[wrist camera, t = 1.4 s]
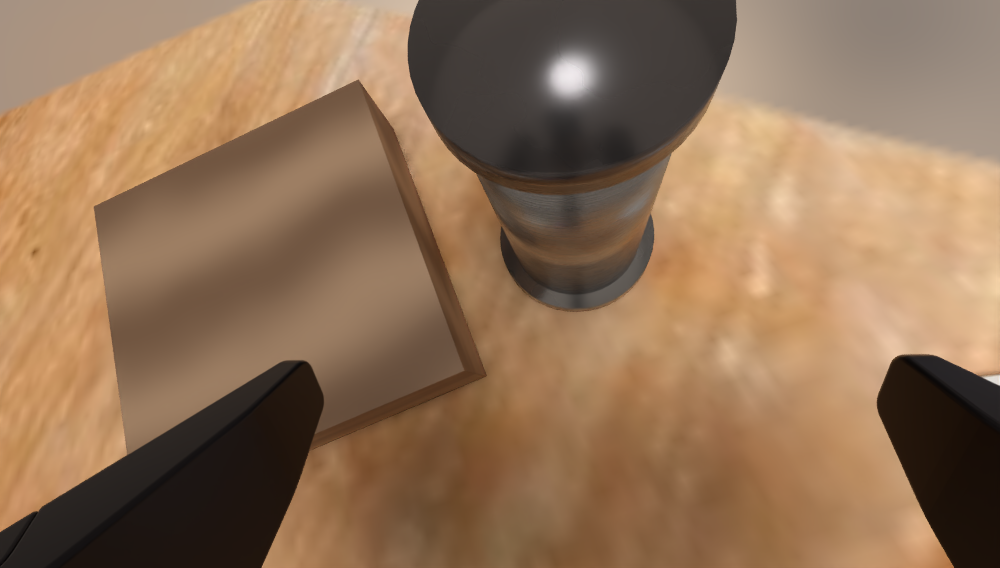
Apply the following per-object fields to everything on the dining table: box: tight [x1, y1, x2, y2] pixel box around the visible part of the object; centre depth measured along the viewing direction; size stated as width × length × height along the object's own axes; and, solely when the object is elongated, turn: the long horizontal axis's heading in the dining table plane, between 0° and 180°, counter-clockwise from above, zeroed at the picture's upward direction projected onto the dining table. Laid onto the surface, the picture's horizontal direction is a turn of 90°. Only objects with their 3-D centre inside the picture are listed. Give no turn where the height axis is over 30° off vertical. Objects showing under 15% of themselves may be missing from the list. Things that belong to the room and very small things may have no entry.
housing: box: [408, 0, 737, 312], centre depth 15 cm, size 7×7×13 cm
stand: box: [94, 80, 486, 455], centre depth 21 cm, size 14×14×4 cm
